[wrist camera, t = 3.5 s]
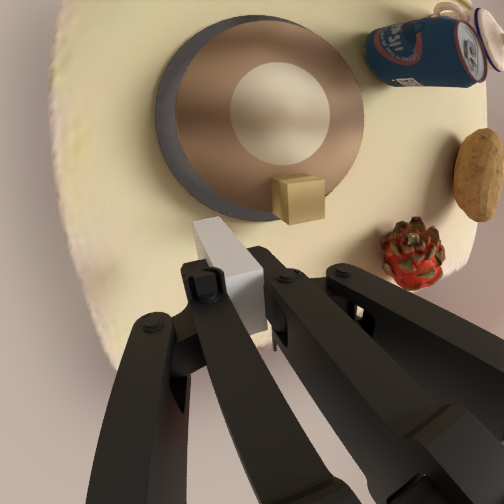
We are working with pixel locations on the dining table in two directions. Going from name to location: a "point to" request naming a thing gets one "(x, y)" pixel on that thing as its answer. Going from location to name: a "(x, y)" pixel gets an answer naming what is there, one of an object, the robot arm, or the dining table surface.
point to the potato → (479, 174)
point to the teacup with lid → (480, 31)
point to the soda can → (427, 53)
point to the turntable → (270, 118)
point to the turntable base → (168, 127)
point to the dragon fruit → (413, 255)
